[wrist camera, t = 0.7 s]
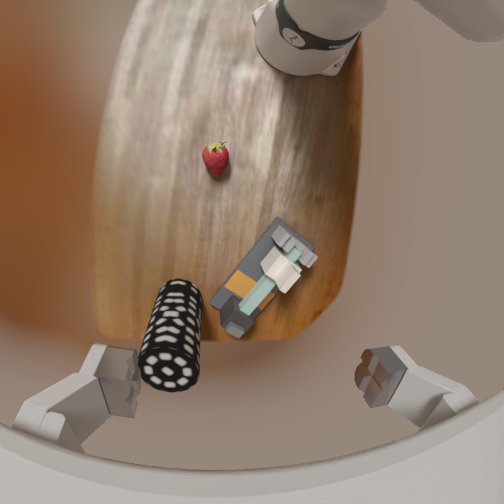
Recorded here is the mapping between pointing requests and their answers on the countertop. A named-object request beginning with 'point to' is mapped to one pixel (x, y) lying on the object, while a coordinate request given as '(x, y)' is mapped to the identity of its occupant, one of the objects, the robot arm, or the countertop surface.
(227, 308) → the block
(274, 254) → the sleeve
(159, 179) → the countertop surface
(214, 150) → the fruit
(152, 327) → the white-spotted black cylinder
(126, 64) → the countertop surface
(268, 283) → the pale teal rod
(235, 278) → the board
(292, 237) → the gray notched block
